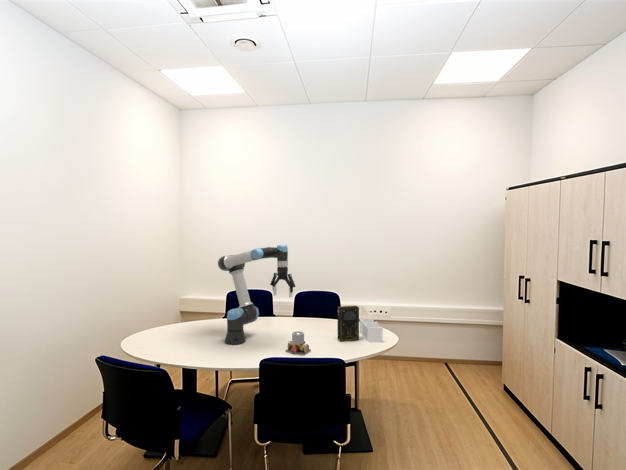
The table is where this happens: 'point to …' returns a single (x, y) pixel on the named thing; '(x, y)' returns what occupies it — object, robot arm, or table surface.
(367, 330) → the storage container
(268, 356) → the table surface
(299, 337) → the coupling
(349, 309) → the voltmeter
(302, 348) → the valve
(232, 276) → the robot arm
